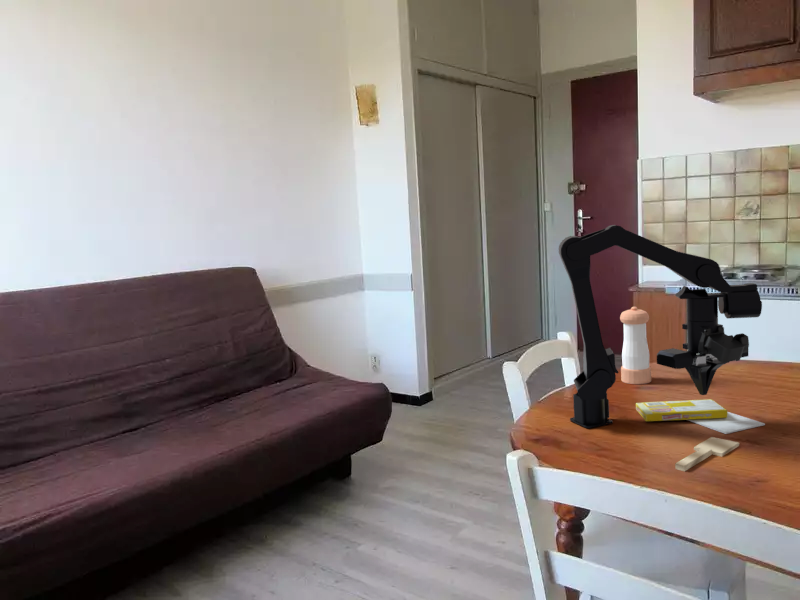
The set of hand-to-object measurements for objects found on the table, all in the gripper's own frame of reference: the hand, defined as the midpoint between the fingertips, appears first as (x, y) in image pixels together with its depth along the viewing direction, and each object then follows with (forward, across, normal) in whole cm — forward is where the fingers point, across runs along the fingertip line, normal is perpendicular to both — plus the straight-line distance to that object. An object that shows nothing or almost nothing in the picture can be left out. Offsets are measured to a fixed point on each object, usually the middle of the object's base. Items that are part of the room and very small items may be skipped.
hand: (703, 394), depth 133 cm
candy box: (+4, -4, +1) cm, 6 cm away
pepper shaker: (+6, +10, +32) cm, 34 cm away
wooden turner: (+6, -14, -14) cm, 20 cm away
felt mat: (+6, +2, 0) cm, 6 cm away
